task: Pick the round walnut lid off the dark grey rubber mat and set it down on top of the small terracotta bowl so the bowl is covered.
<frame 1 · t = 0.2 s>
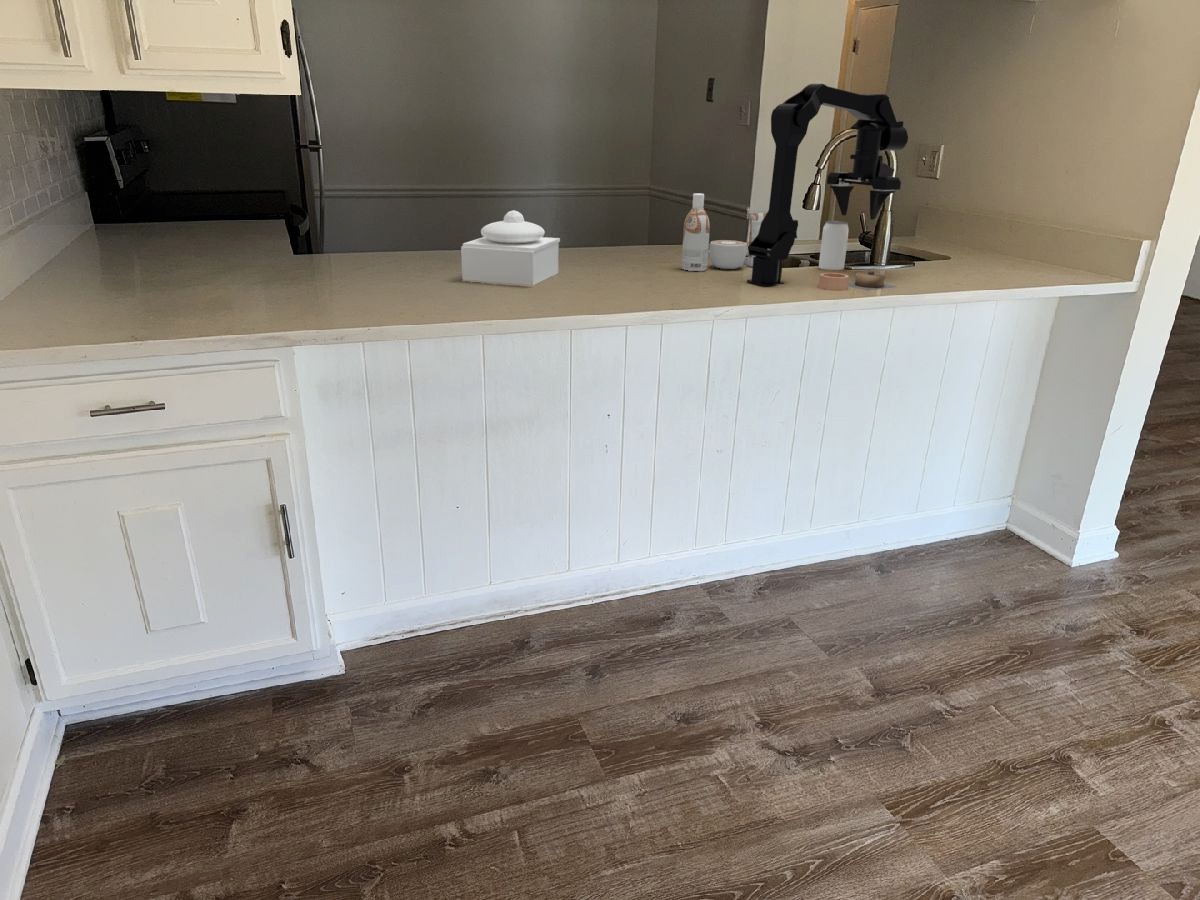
hand: (858, 217, 210), 14 cm above the counter, fingers open, 9 cm apart
white lidded container: (512, 279, 203), on the counter
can: (830, 269, 224), on the counter
mat: (869, 287, 201), on the counter
bowl: (832, 289, 198), on the counter
cosmetic set: (725, 269, 222), on the counter
lid: (869, 285, 201), resting on mat
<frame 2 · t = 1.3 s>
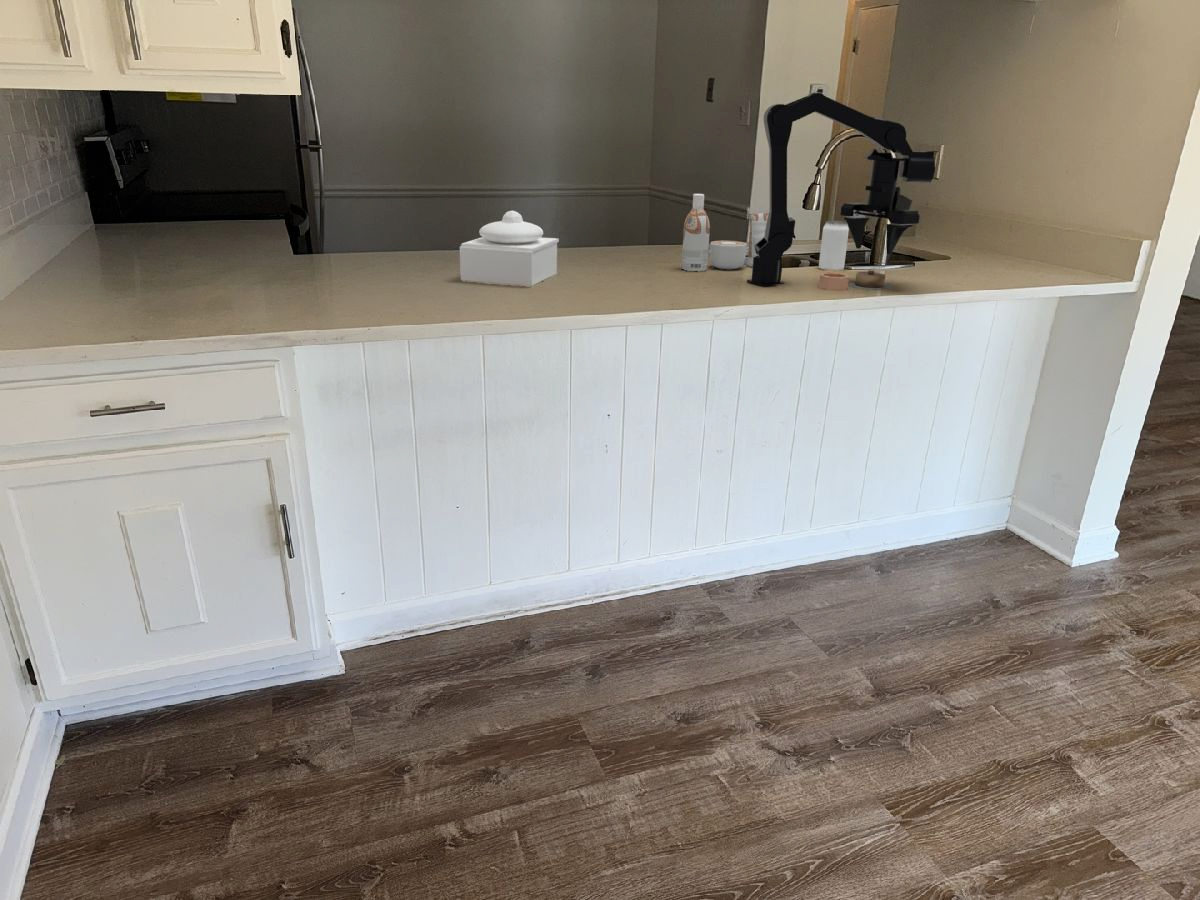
hand: (873, 251, 198), 8 cm above the counter, fingers open, 9 cm apart
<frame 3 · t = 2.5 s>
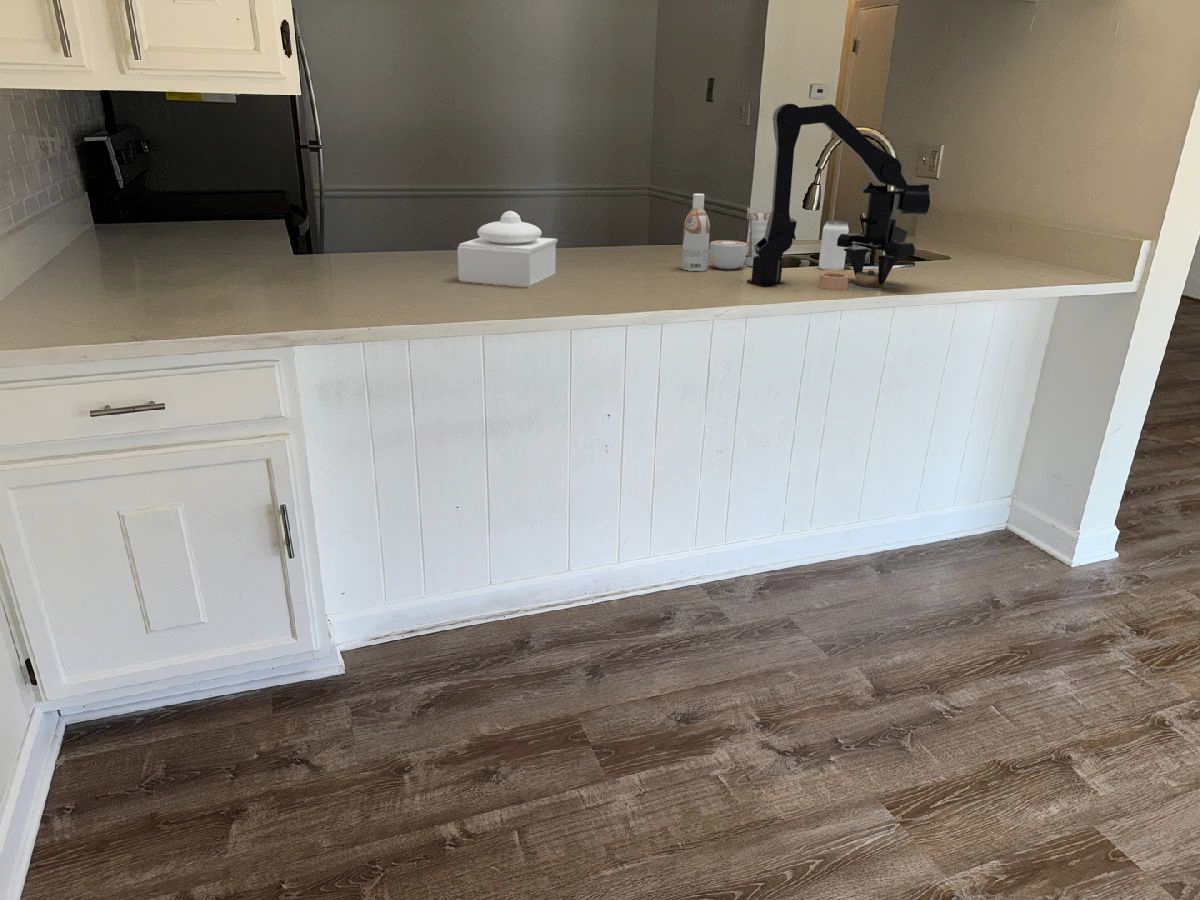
hand: (869, 281, 201), 1 cm above the counter, fingers closed on lid, 7 cm apart
lid: (869, 285, 201), resting on mat, touching gripper
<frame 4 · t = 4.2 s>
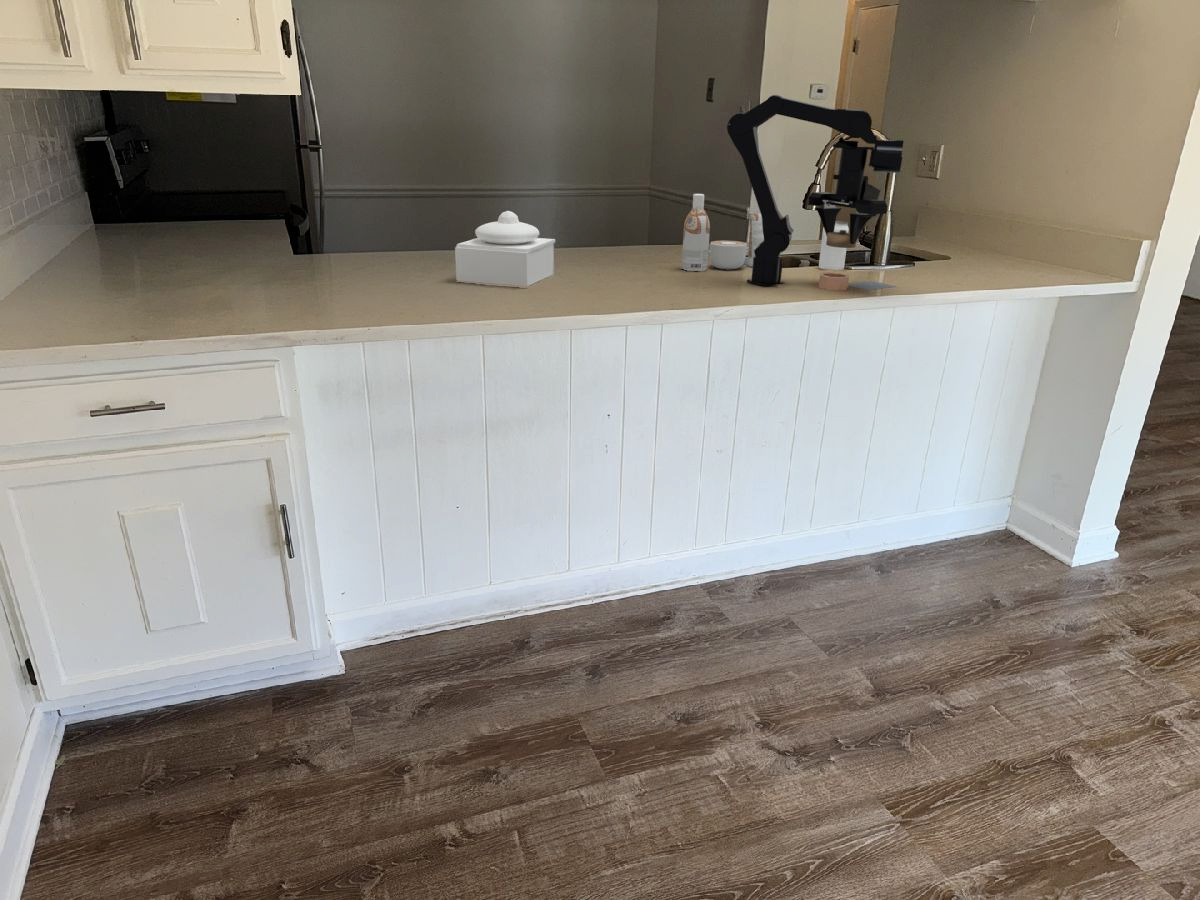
hand: (841, 241, 195), 11 cm above the counter, fingers closed on lid, 7 cm apart
lid: (840, 245, 195), point 10 cm above the counter, touching gripper
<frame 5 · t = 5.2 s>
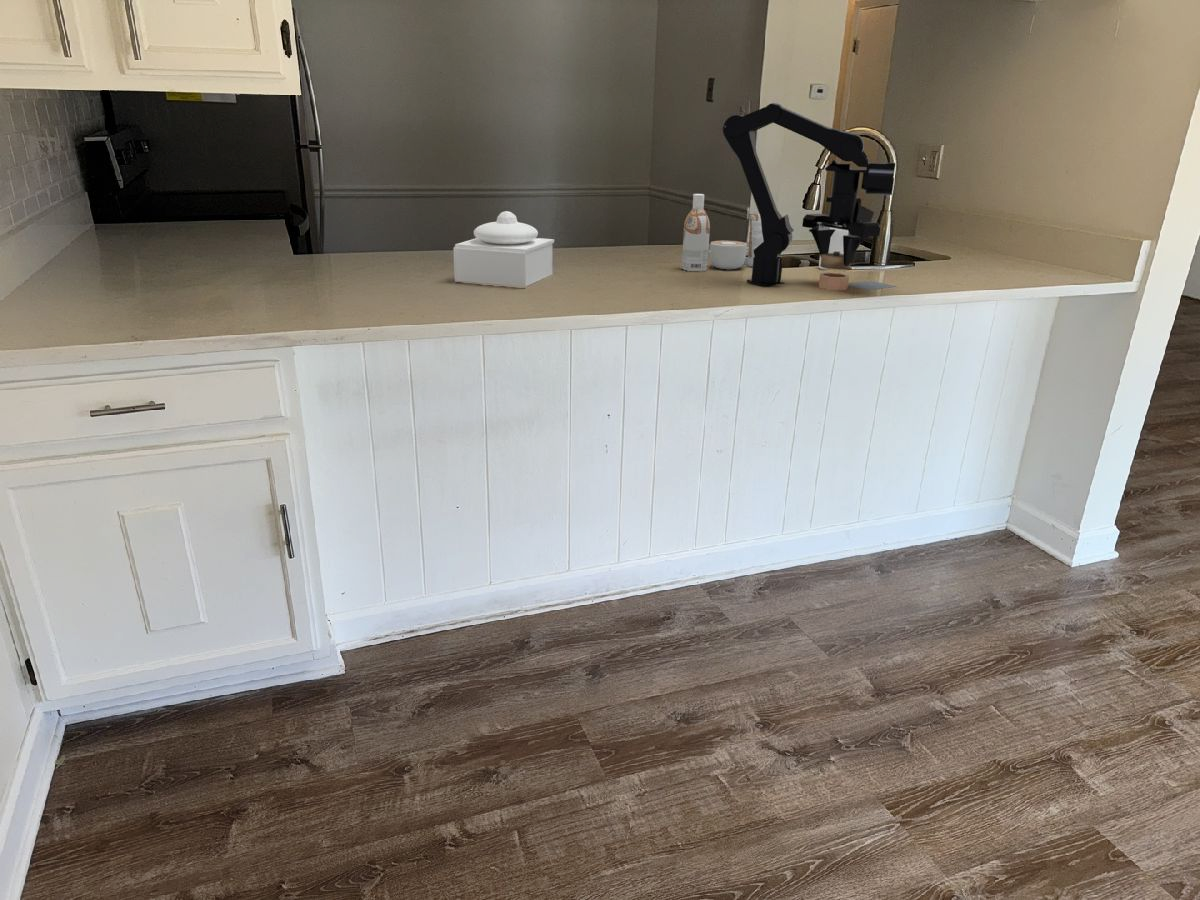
hand: (835, 263, 196), 6 cm above the counter, fingers closed on lid, 7 cm apart
lid: (834, 266, 196), point 5 cm above the counter, touching gripper
when the fingers open (5 cm above the counter, at t = 5.9 s): lid stays where it is, resting on bowl.
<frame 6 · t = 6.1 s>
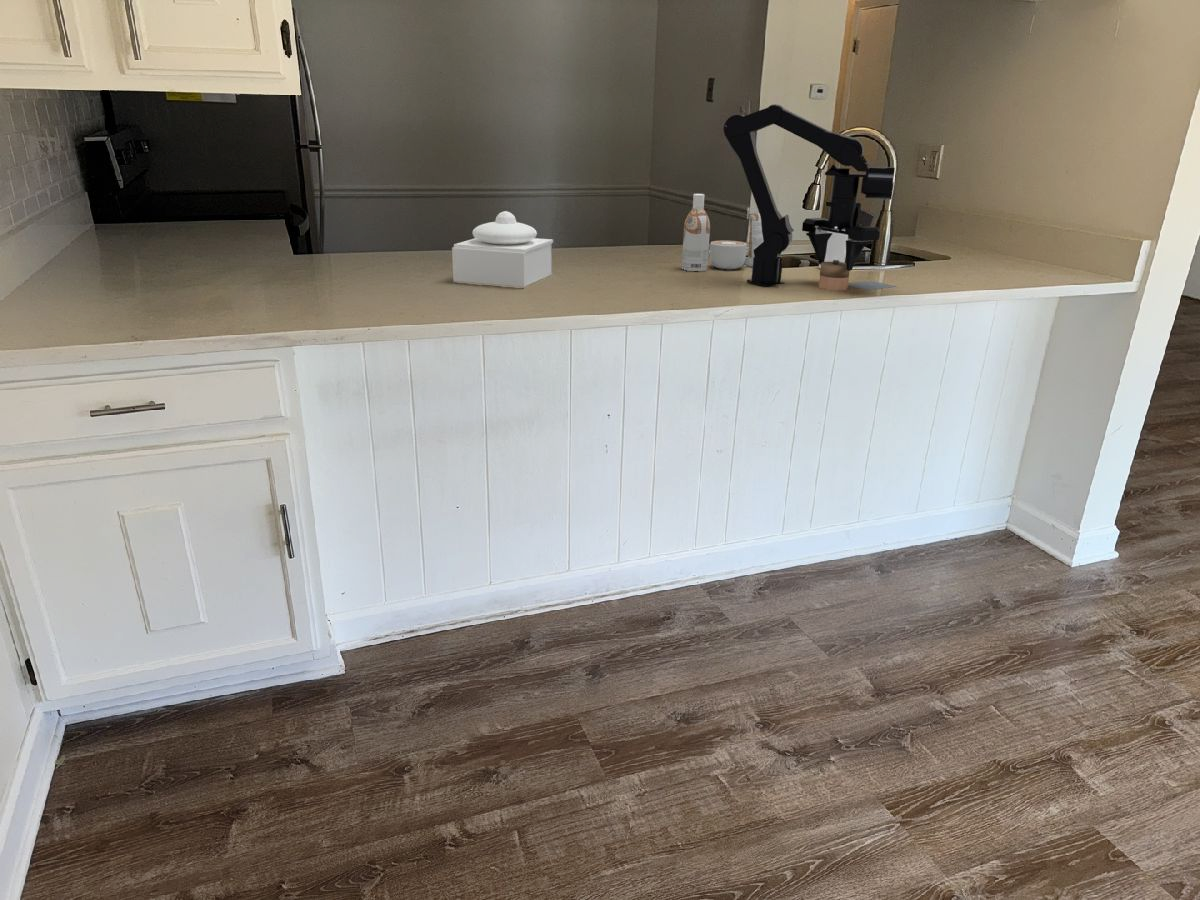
hand: (835, 267, 196), 5 cm above the counter, fingers open, 8 cm apart
lid: (834, 275, 197), point 3 cm above the counter, touching bowl
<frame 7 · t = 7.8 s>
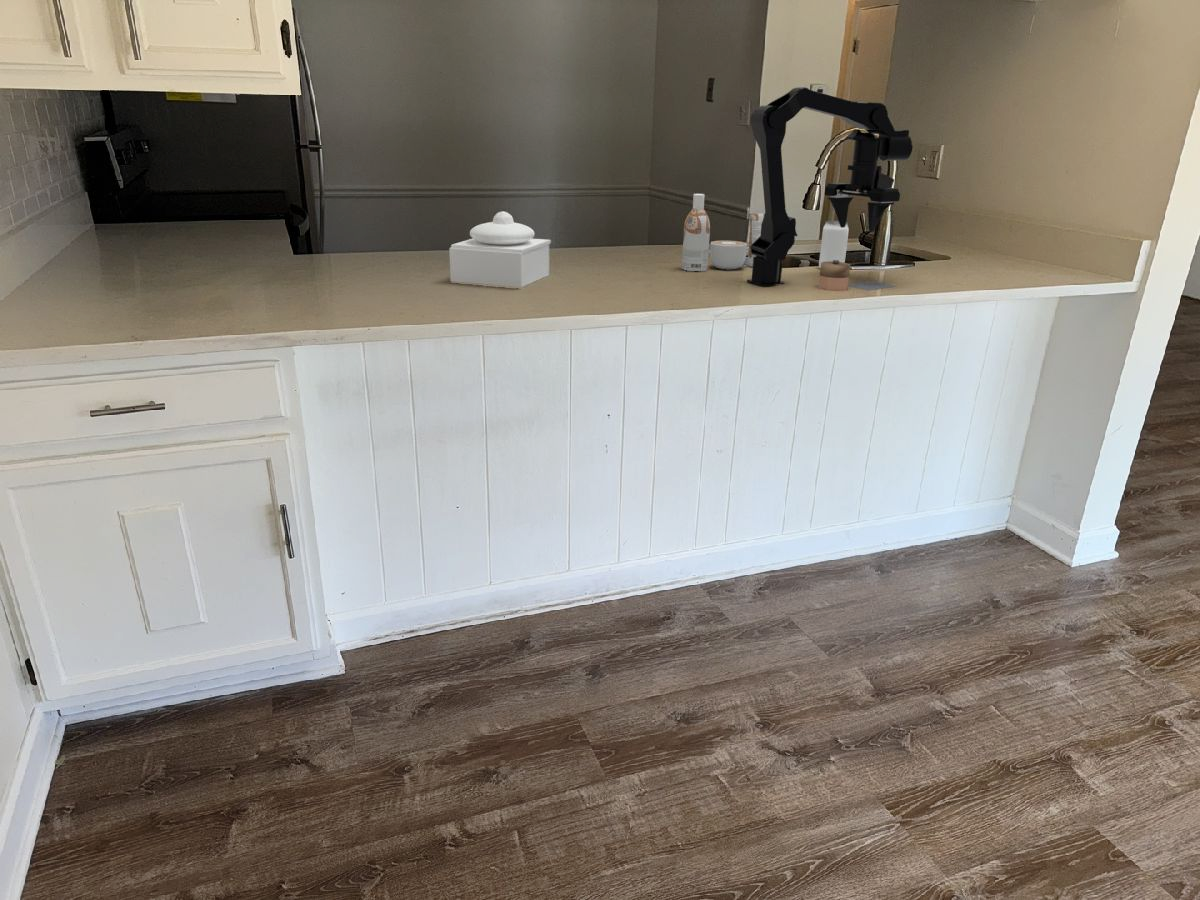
hand: (856, 229, 203), 12 cm above the counter, fingers open, 9 cm apart
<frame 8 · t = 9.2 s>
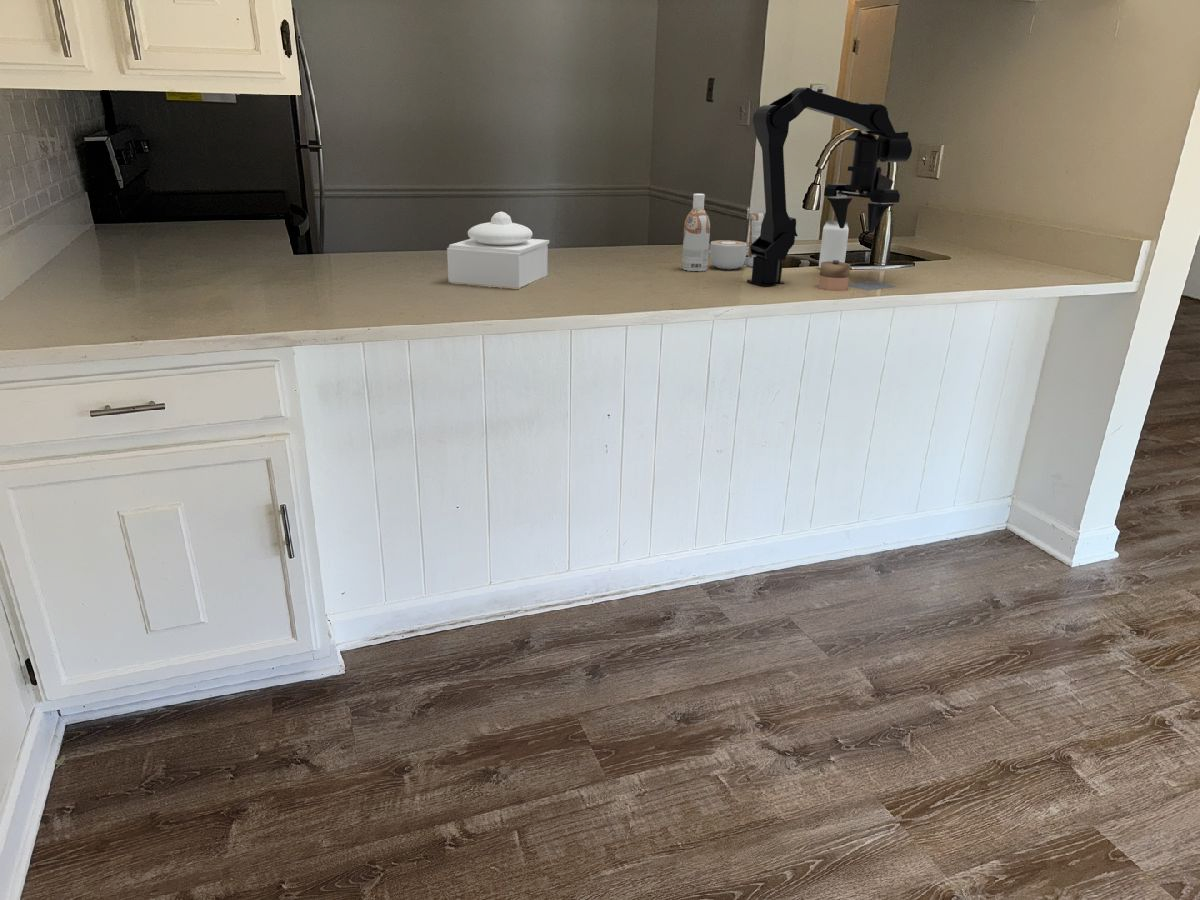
hand: (856, 230, 204), 12 cm above the counter, fingers open, 9 cm apart
at the end: lid 0.0 cm off-centre on the bowl, point 3.2 cm above the bowl's base; lid tilted 0°; the gripper is holding nothing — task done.
